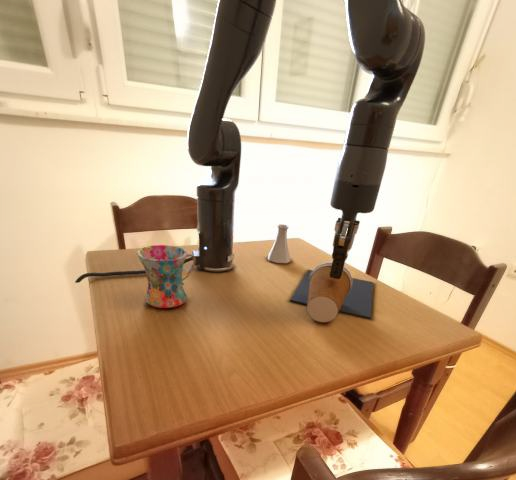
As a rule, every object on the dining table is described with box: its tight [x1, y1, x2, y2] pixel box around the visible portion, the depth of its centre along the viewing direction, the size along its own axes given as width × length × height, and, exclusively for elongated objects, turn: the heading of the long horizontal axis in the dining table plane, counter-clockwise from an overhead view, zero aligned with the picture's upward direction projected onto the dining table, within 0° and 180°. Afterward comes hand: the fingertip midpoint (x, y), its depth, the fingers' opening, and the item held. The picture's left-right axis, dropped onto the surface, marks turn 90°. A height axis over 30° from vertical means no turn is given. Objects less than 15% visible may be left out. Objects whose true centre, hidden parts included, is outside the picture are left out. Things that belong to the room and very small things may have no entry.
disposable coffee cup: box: [306, 261, 353, 323], centre depth 66 cm, size 10×10×12 cm
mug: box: [136, 244, 196, 309], centre depth 64 cm, size 12×9×11 cm
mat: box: [289, 269, 374, 320], centre depth 78 cm, size 22×18×1 cm
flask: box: [267, 224, 292, 264], centre depth 92 cm, size 7×7×10 cm
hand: (335, 277), depth 62 cm, fingers closed
